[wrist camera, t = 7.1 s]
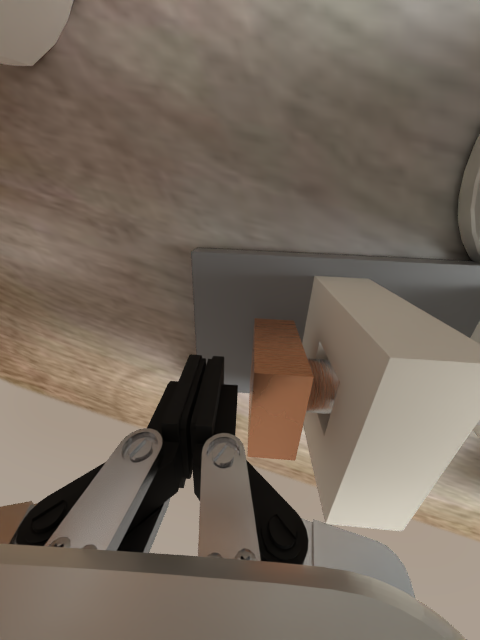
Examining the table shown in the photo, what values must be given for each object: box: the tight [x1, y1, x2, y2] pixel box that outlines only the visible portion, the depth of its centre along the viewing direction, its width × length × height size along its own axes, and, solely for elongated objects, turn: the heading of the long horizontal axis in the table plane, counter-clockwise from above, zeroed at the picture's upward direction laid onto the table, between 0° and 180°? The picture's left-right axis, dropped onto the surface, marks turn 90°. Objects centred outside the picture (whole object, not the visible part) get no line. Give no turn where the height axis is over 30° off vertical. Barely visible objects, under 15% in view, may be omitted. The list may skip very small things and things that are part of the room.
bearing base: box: [191, 248, 480, 531], centre depth 11 cm, size 24×10×10 cm, turn 88°
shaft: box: [248, 318, 480, 460], centre depth 10 cm, size 20×4×4 cm, turn 88°
